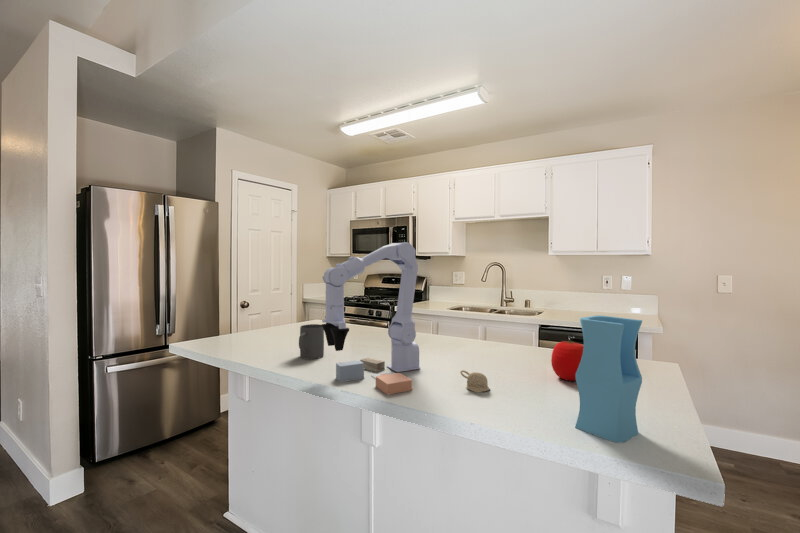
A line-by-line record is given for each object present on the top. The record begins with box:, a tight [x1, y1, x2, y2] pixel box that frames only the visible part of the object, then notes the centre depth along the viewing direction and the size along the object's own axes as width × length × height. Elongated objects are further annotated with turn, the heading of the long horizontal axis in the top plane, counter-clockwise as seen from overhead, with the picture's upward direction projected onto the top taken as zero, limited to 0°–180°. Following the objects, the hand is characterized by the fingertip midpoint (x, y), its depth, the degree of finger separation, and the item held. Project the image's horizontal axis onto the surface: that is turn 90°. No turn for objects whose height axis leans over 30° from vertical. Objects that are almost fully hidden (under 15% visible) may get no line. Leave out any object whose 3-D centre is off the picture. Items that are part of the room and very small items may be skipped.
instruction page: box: [370, 371, 395, 380], centre depth 124 cm, size 8×6×1 cm
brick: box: [360, 357, 386, 372], centre depth 133 cm, size 4×8×3 cm, turn 51°
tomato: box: [550, 339, 584, 382], centre depth 121 cm, size 12×12×13 cm
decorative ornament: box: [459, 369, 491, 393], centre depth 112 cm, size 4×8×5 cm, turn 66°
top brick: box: [335, 359, 365, 383], centre depth 122 cm, size 8×4×5 cm, turn 118°
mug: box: [298, 323, 325, 360], centre depth 147 cm, size 14×9×12 cm
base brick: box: [375, 372, 413, 395], centre depth 112 cm, size 8×8×3 cm
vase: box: [574, 315, 643, 444], centre depth 85 cm, size 10×10×25 cm
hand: (335, 347), depth 121 cm, fingers open, 7 cm apart
